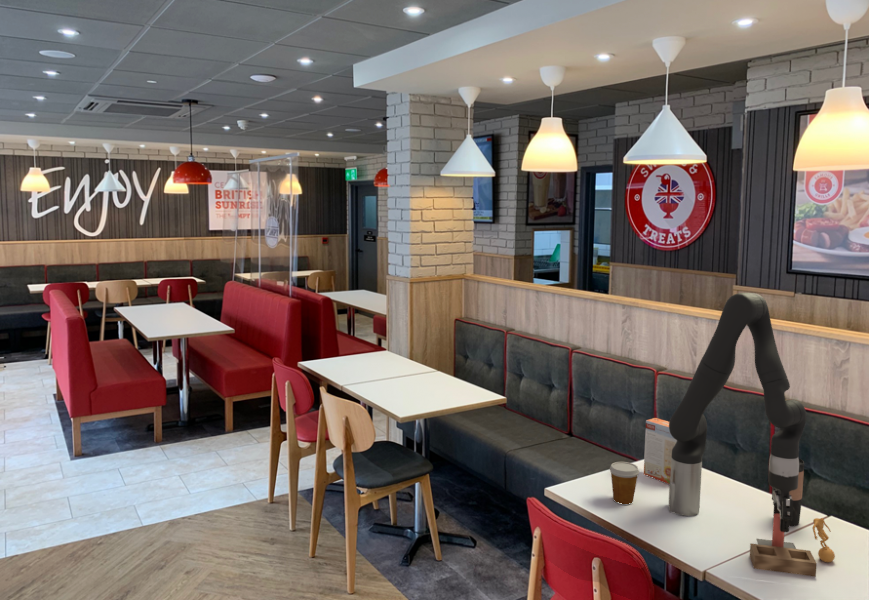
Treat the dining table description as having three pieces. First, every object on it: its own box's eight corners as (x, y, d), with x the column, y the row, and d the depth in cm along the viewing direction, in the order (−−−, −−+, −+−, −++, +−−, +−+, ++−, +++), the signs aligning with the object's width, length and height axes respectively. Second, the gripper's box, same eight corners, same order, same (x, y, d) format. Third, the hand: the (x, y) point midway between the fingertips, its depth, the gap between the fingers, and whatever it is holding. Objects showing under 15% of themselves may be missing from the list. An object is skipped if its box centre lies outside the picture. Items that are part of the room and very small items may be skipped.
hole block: (753, 569, 185) (754, 555, 185) (749, 556, 192) (750, 543, 192) (815, 577, 181) (816, 563, 181) (809, 564, 188) (810, 550, 187)
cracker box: (686, 483, 243) (689, 426, 240) (675, 487, 239) (678, 429, 236) (653, 471, 254) (656, 416, 251) (642, 474, 251) (645, 419, 248)
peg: (772, 548, 196) (775, 517, 195) (770, 544, 199) (772, 512, 197) (784, 550, 195) (786, 518, 194) (782, 545, 198) (784, 514, 197)
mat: (760, 552, 194) (761, 551, 194) (756, 539, 202) (756, 538, 202) (799, 557, 192) (800, 556, 192) (793, 543, 199) (793, 542, 199)
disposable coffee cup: (626, 493, 235) (627, 459, 233) (644, 504, 226) (645, 469, 224) (602, 497, 231) (603, 463, 230) (619, 508, 222) (621, 473, 221)
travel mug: (803, 528, 209) (808, 465, 206) (776, 526, 210) (780, 463, 208) (795, 517, 216) (800, 456, 214) (769, 515, 218) (773, 454, 215)
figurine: (826, 569, 185) (829, 527, 184) (803, 560, 190) (806, 519, 189) (840, 559, 190) (843, 519, 189) (817, 551, 195) (821, 511, 194)
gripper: (764, 460, 202) (761, 513, 204) (774, 478, 188) (771, 534, 190) (792, 462, 200) (789, 515, 202) (804, 480, 186) (801, 537, 188)
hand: (780, 524), depth 196 cm, fingers open, 8 cm apart
